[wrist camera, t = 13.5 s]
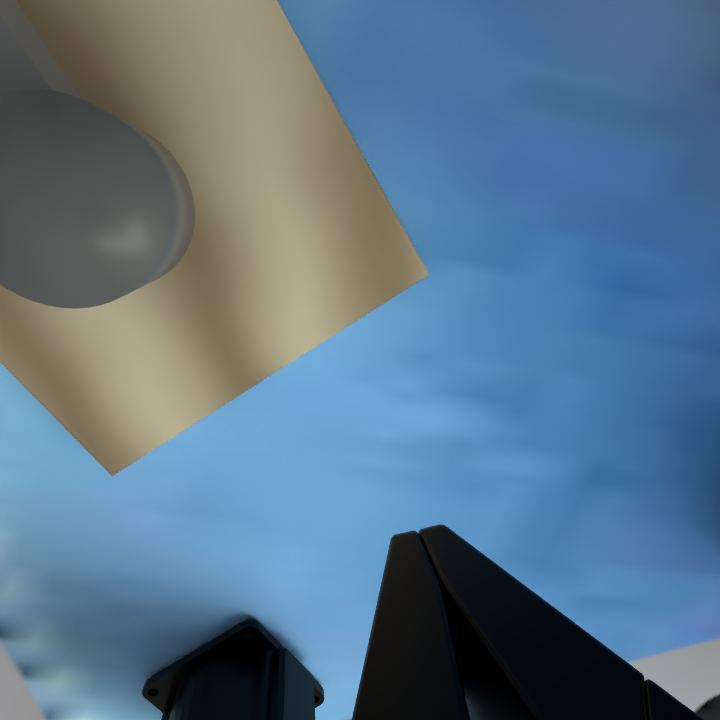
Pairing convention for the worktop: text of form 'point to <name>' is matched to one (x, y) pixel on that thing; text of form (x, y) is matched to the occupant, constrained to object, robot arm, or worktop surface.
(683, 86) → the worktop surface
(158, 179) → the grey elongated piece
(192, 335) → the stud base
